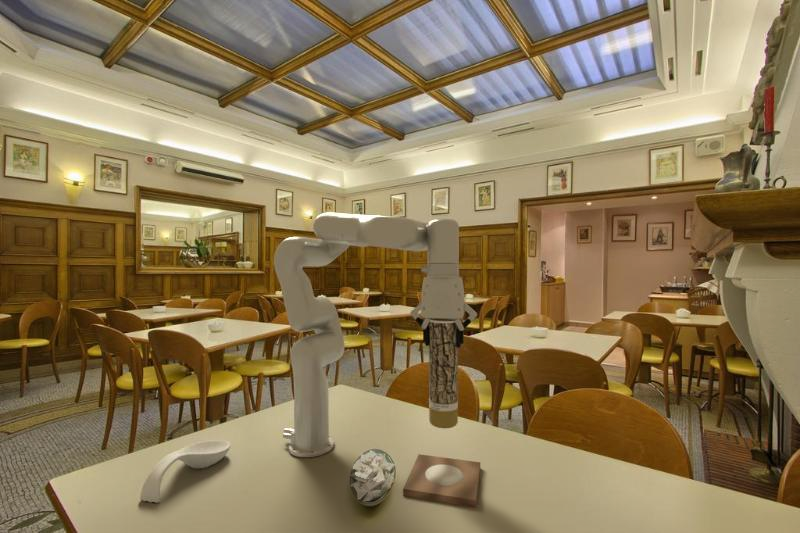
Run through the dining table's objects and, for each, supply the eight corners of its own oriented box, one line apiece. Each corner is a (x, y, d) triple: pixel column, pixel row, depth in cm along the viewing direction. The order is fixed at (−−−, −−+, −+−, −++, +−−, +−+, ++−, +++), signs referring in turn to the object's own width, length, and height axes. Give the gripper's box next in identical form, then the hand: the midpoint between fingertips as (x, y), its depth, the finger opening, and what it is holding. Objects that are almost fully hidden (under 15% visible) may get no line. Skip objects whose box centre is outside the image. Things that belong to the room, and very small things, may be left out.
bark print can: (457, 430, 84) (456, 321, 85) (427, 428, 86) (427, 320, 86) (458, 419, 91) (458, 317, 91) (430, 416, 92) (430, 316, 93)
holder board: (403, 495, 83) (403, 488, 83) (418, 459, 98) (418, 454, 98) (476, 507, 78) (475, 500, 78) (480, 468, 94) (480, 462, 94)
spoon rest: (201, 450, 105) (201, 424, 105) (239, 453, 103) (239, 427, 103) (126, 501, 81) (126, 468, 81) (173, 507, 79) (173, 473, 79)
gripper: (404, 271, 87) (404, 347, 87) (479, 271, 83) (479, 351, 83) (411, 271, 95) (411, 341, 94) (481, 271, 90) (481, 344, 90)
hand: (443, 345), depth 89 cm, fingers closed on bark print can, 6 cm apart
